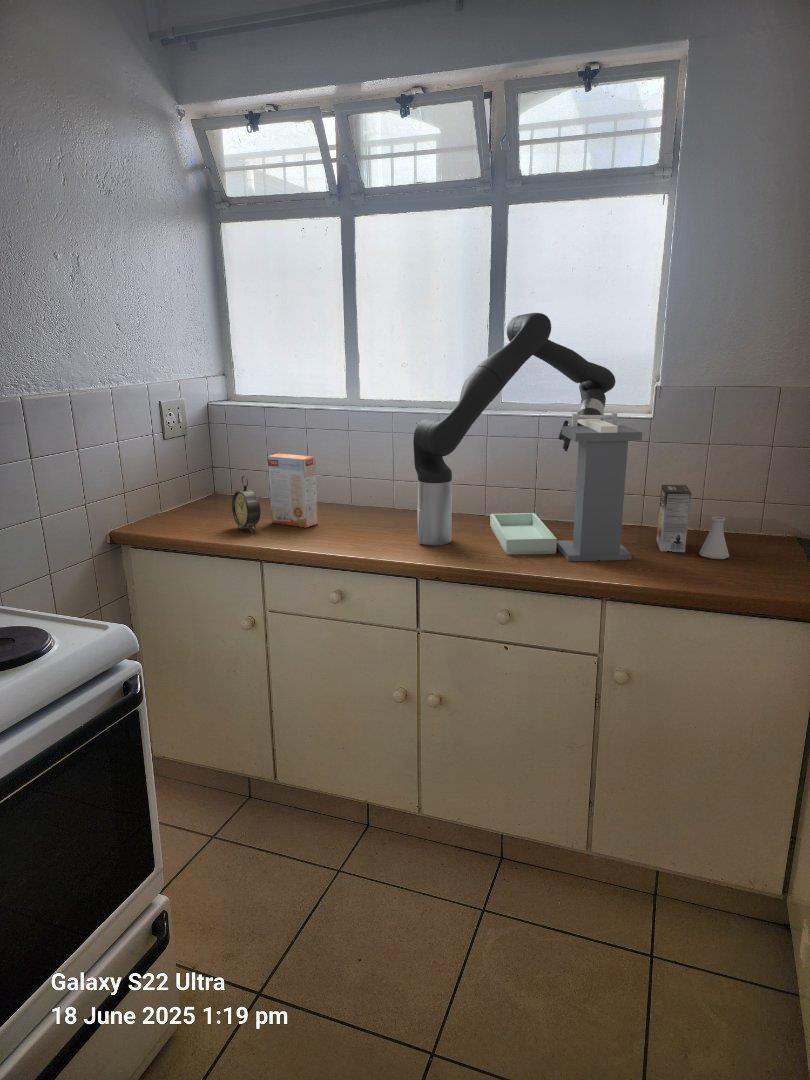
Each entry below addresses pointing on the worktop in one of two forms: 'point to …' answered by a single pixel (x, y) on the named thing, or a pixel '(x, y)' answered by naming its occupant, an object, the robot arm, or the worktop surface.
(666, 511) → the coffee box
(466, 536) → the worktop surface
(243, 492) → the alarm clock
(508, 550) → the tray
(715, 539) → the flask
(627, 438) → the grey pedestal stand
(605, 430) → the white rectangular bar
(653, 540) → the worktop surface
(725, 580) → the worktop surface
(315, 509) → the cracker box
